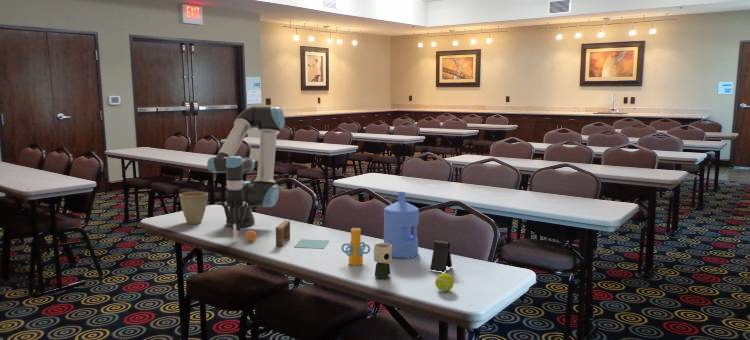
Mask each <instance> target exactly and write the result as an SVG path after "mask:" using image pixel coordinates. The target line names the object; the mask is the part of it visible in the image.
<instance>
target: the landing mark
mask: <svg viewBox="0 0 750 340" xmlns="http://www.w3.org/2000/svg"><path fill="white" fill-rule="evenodd" d="M329 241H330V240H327V239H308V238H307V239H304V238H303V239H299V241H298V242H297V243H296V244H295V245H294V248H295V249H296V248H299V249H320V250H322V249H325V247H326V246H327V245H326V244H329Z"/></svg>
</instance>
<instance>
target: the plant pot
mask: <svg viewBox="0 0 750 340" xmlns="http://www.w3.org/2000/svg"><path fill="white" fill-rule="evenodd" d="M208 195H209V193H208V192H204V191H187V192H182V193H179V194H178V196H179V201H180V202H179V203H180V207H181V209H182V213H183V217H184V218H185V221H186V224H188V225H197V224H201V223H202V221H203V219H204V215H205V212H206V207H207V204H208Z"/></svg>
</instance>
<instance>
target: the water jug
mask: <svg viewBox="0 0 750 340" xmlns="http://www.w3.org/2000/svg"><path fill="white" fill-rule="evenodd" d="M397 194H398V196H397V199H398V201H396V202H394V203H392V204H389V205H387V206H386V207H385V208H384V209H383V210H384V211H383V222H384V223H383V243H388V244H391V245H392V253H391V255H392V257H395V259H408V258H407V257H411V258H413V257H412V256H414V257H416V256H417V255H418V254H419V238H418V225H419V219H420V211H419V208H418V207H416V206H415V205H413V204H411V203H409V202H407V201H406V192H405V191H400V192H398V193H397ZM415 255H416V256H415Z"/></svg>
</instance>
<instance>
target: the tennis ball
mask: <svg viewBox="0 0 750 340" xmlns="http://www.w3.org/2000/svg"><path fill="white" fill-rule="evenodd" d="M434 283H435V286H436V288H437V289H438V290H439V291H440V290H441V291H440V292H443V291H447V292H449V291H452V289H453V287H454V284H455V282H454V278H453V277H452V275H450V274H449V273H447V272H446V273H439V274H438V275H437V277H436V278H435V282H434Z"/></svg>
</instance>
